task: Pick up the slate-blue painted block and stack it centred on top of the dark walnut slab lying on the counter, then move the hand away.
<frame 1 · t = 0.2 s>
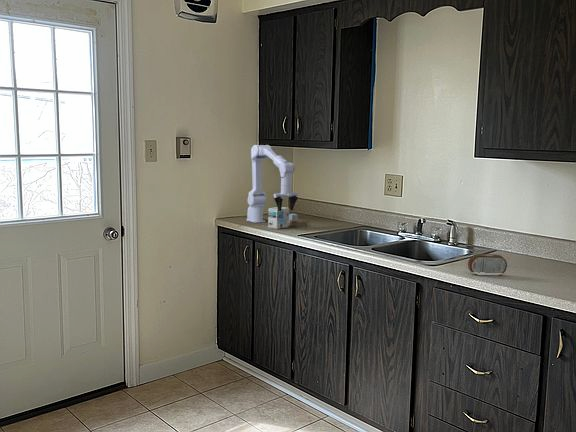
hand: (285, 210, 324), 10 cm above the worktop, tool pointing down, fingers open, 7 cm apart
tin: (486, 275, 238), on the worktop
blue block: (292, 222, 346), on the worktop
walnut slab: (298, 225, 339), on the worktop
light bulb box: (278, 227, 329), on the worktop, touching gripper
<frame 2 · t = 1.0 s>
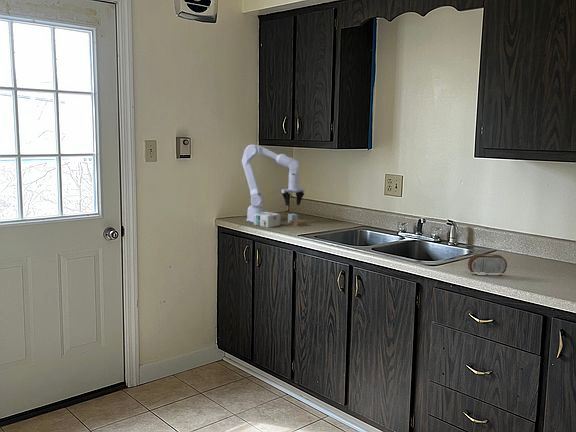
hand: (292, 205, 343), 10 cm above the worktop, tool pointing down, fingers open, 7 cm apart
light bulb box: (274, 220, 330), point 3 cm above the worktop
everything else where it was.
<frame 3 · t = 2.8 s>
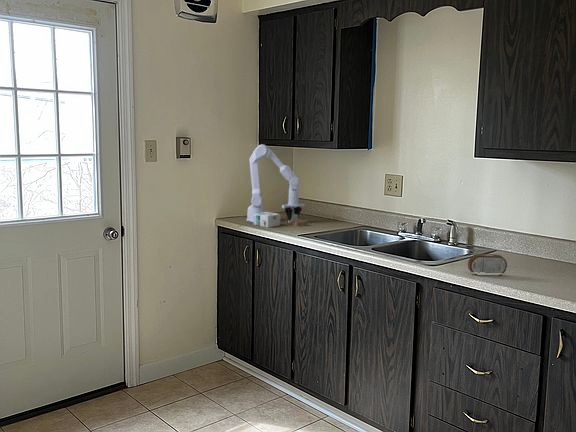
hand: (292, 220, 346), 1 cm above the worktop, tool pointing down, fingers closed on blue block, 4 cm apart
blue block: (292, 222, 346), on the worktop, touching gripper
everything else where it was.
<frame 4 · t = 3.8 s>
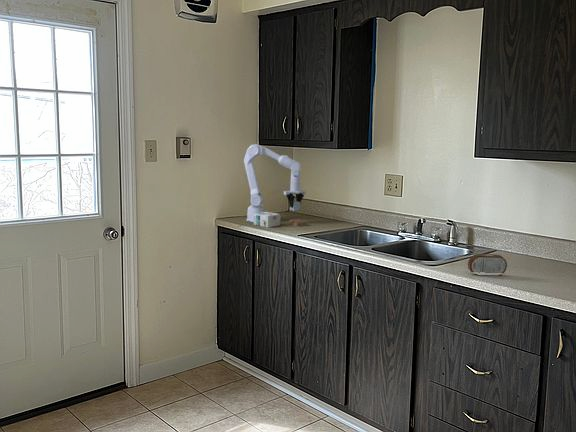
hand: (294, 207, 343), 9 cm above the worktop, tool pointing down, fingers closed on blue block, 4 cm apart
blue block: (294, 210, 343), point 8 cm above the worktop, touching gripper
everything else where it was.
when the fingers open (6 cm above the worktop, at t = 5.3 s): blue block moves 1 cm, resting on walnut slab.
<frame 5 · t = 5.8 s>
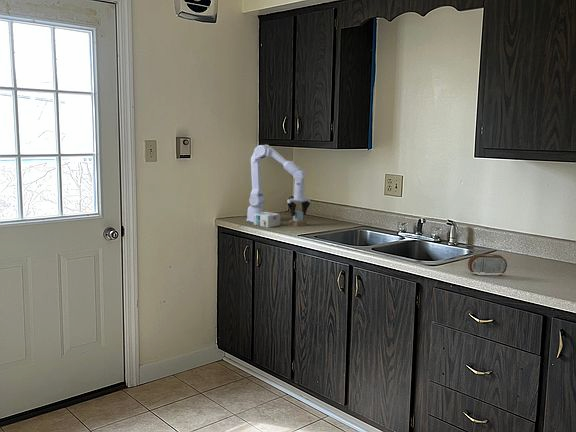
hand: (298, 215, 338), 6 cm above the worktop, tool pointing down, fingers open, 7 cm apart
blue block: (297, 220, 339), point 3 cm above the worktop, touching walnut slab
walnut slab: (298, 225, 339), on the worktop, touching blue block
everything else where it was.
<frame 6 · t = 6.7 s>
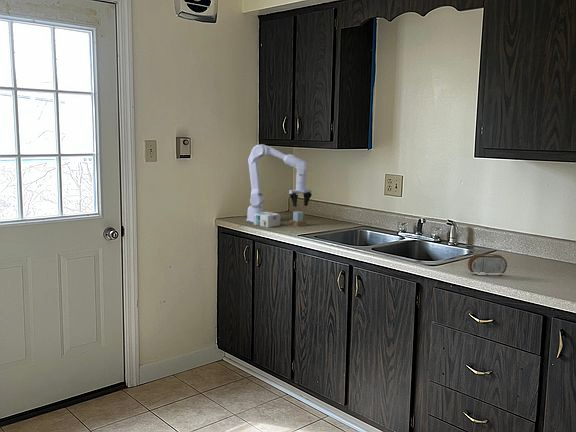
hand: (300, 206, 340), 10 cm above the worktop, tool pointing down, fingers open, 7 cm apart
blue block: (297, 220, 338), point 3 cm above the worktop
walnut slab: (298, 226, 339), on the worktop
everything else where it was.
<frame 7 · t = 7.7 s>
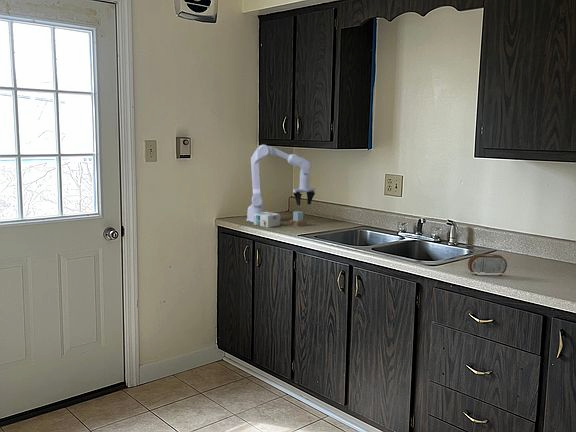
hand: (303, 204, 347), 10 cm above the worktop, tool pointing down, fingers open, 7 cm apart
nothing on the worktop moved.
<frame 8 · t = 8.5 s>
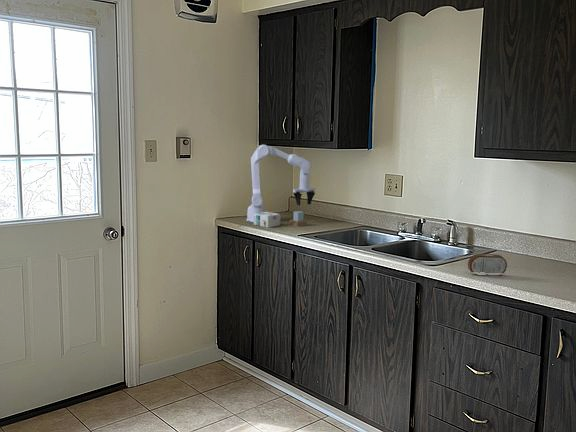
hand: (303, 204, 347), 10 cm above the worktop, tool pointing down, fingers open, 7 cm apart
nothing on the worktop moved.
at the end: blue block 0.1 cm off-centre on the walnut slab, point 3.0 cm above the walnut slab's base; blue block tilted 1°; the gripper is holding nothing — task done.
